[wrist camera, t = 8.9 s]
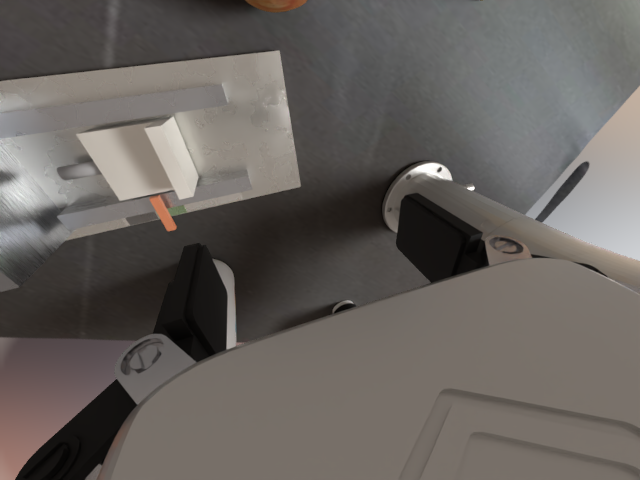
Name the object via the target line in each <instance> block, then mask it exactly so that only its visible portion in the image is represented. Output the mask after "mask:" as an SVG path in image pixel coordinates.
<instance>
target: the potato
mask: <svg viewBox="0 0 640 480" xmlns="http://www.w3.org/2000/svg"><path fill="white" fill-rule="evenodd" d="M245 1H246V2H248V3H249V4H250V5H252V6H254V7H256V8H258V9H261V10H264V11H268V12H285V11H289V10H292V9H295V8H297V7H300V6H301V5H303V4H304V3H305V2H306V1H307V0H245Z"/></svg>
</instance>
